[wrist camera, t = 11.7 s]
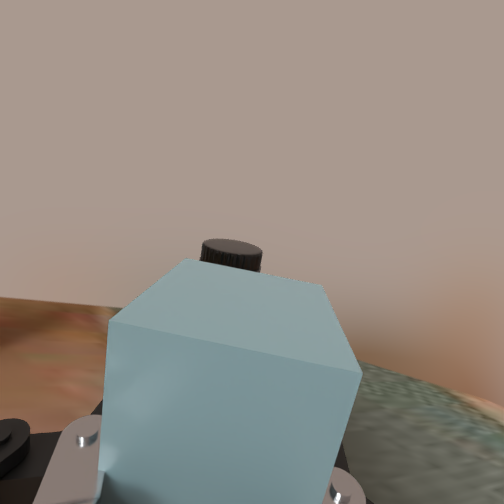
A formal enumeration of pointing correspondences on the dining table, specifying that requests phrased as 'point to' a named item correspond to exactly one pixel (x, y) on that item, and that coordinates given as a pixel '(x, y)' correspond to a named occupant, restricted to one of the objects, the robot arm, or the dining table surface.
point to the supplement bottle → (232, 254)
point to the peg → (224, 391)
